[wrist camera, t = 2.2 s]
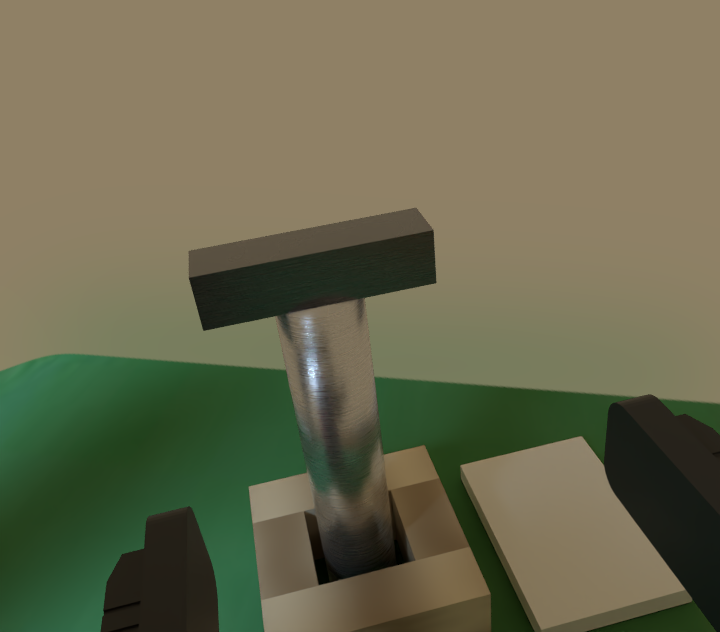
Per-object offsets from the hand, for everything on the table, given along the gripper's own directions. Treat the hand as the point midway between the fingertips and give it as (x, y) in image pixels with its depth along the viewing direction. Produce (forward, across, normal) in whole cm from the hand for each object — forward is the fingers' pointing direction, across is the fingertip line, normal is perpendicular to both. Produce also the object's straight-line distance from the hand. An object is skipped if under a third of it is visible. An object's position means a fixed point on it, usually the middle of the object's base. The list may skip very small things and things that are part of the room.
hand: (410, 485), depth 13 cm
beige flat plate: (+12, -10, +18) cm, 24 cm away
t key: (+12, 0, +18) cm, 22 cm away
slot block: (+12, 0, +18) cm, 22 cm away
